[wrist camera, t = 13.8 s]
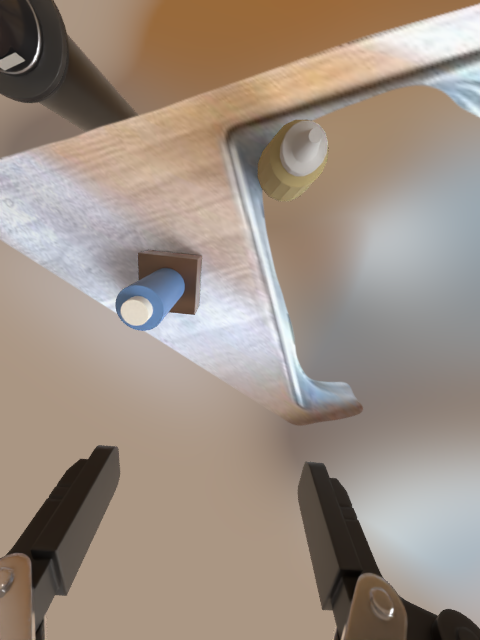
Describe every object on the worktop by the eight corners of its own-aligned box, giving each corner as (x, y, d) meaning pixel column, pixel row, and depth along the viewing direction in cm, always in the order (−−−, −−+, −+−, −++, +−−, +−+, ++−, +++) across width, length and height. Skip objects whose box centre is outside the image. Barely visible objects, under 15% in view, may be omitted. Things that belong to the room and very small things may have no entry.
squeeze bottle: (291, 131, 37) (336, 50, 20) (317, 183, 39) (377, 149, 22) (245, 167, 38) (251, 120, 21) (273, 214, 41) (297, 206, 24)
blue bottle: (150, 266, 38) (106, 285, 26) (185, 270, 39) (159, 291, 26) (150, 299, 40) (110, 333, 28) (184, 303, 41) (159, 338, 28)
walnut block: (148, 249, 42) (137, 252, 38) (202, 255, 43) (197, 259, 38) (149, 300, 45) (139, 309, 41) (199, 305, 46) (194, 314, 41)
